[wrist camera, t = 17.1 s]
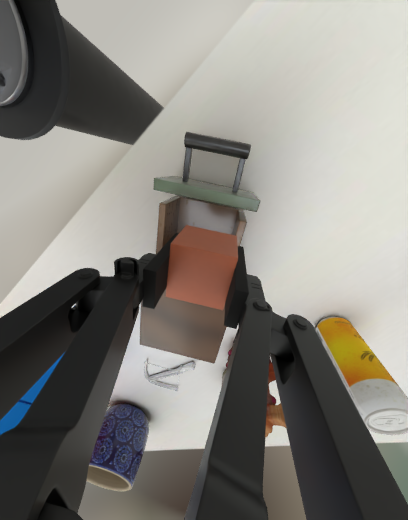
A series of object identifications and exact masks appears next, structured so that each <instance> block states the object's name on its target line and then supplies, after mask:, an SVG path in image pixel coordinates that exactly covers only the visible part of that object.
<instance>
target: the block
mask: <svg viewBox="0 0 408 520" xmlns="http://www.w3.org/2000/svg"><path fill="white" fill-rule="evenodd" d="M237 261H238V246H237V236H236V235H231V234H226V233H222V232H217V231H212V230H208V229H203V228H198V227H194V226H189V225H186V226H185V227H184V228H183V230H182V231H181V232H180V233H179V234H178V235H177V237H176V238H175V239H174V240H173V241H172V242H171V245H170V257H169V267H168V277H167V287H166V297H169V298H173V299H177V300H182V301H186V302H190V303H194V304H199V305H203V306H207V307H211V308H216V309H220V310H223V309H224V305H225V301H226V297H227V294H228V290H229V287H230V284H231V280H232V277H233V273H234V270H235V268H236V264H237Z"/></svg>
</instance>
